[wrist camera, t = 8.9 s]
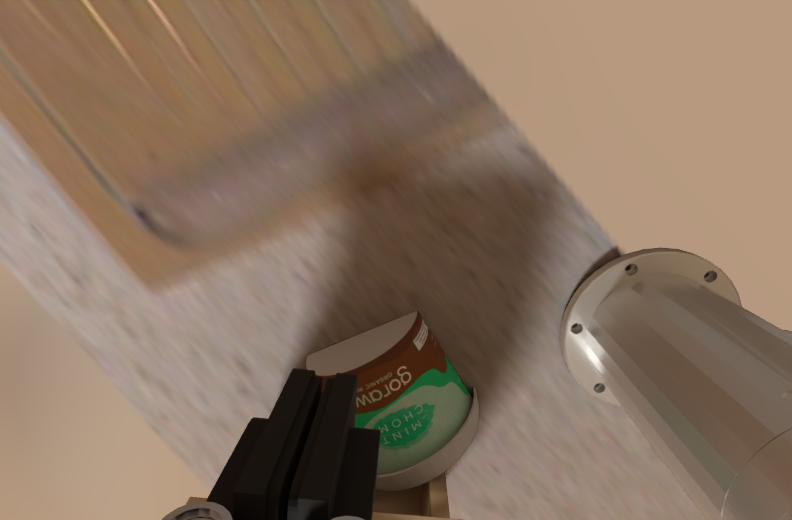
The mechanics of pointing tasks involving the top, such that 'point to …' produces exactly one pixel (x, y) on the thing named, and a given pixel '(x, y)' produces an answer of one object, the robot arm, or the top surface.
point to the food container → (405, 399)
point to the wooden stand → (406, 502)
